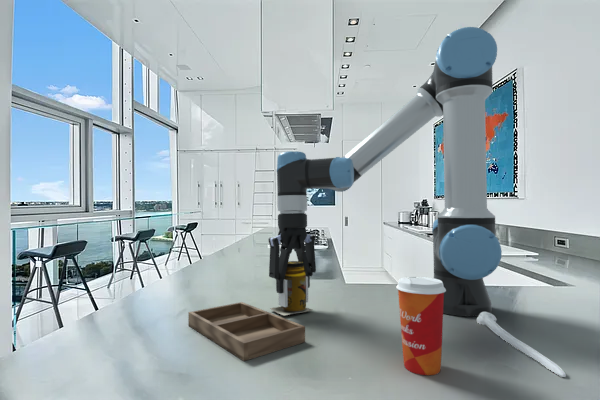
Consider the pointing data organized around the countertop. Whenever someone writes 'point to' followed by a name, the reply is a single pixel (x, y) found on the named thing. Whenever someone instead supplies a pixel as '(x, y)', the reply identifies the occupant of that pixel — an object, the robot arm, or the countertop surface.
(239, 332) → the caddy
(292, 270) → the condiment
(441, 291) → the paper cup
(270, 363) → the countertop surface
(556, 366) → the white nail
